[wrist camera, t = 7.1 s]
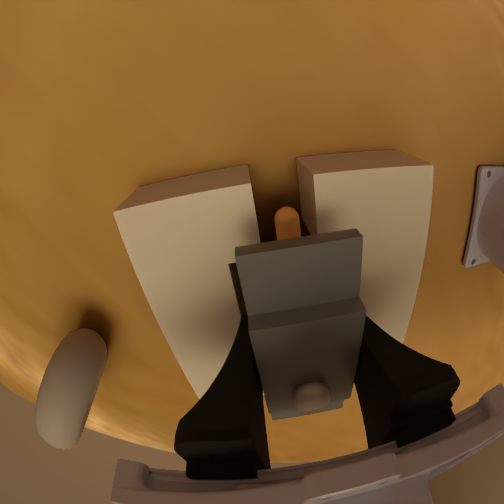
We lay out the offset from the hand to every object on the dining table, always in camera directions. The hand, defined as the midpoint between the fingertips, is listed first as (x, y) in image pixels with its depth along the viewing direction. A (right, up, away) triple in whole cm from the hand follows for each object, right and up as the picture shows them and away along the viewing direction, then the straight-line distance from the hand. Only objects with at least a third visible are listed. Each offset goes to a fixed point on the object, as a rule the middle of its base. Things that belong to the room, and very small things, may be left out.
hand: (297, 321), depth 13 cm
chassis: (0, +2, +3) cm, 4 cm away
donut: (-15, -4, +6) cm, 17 cm away
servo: (0, +1, +1) cm, 2 cm away
